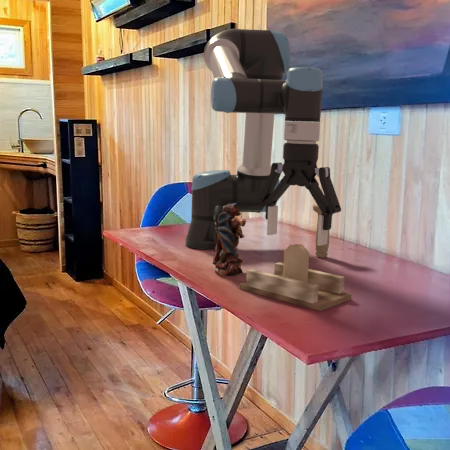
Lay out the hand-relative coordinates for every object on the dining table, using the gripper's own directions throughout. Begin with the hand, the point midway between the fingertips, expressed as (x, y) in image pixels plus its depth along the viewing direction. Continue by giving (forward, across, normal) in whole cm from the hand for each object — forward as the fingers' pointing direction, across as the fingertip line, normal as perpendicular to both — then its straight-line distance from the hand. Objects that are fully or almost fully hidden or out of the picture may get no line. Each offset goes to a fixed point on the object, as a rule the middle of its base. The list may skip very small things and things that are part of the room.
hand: (296, 239), depth 125 cm
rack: (+12, 0, 0) cm, 12 cm away
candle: (+11, +1, 0) cm, 11 cm away
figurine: (+13, -22, +4) cm, 26 cm away
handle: (+13, -16, +36) cm, 42 cm away
